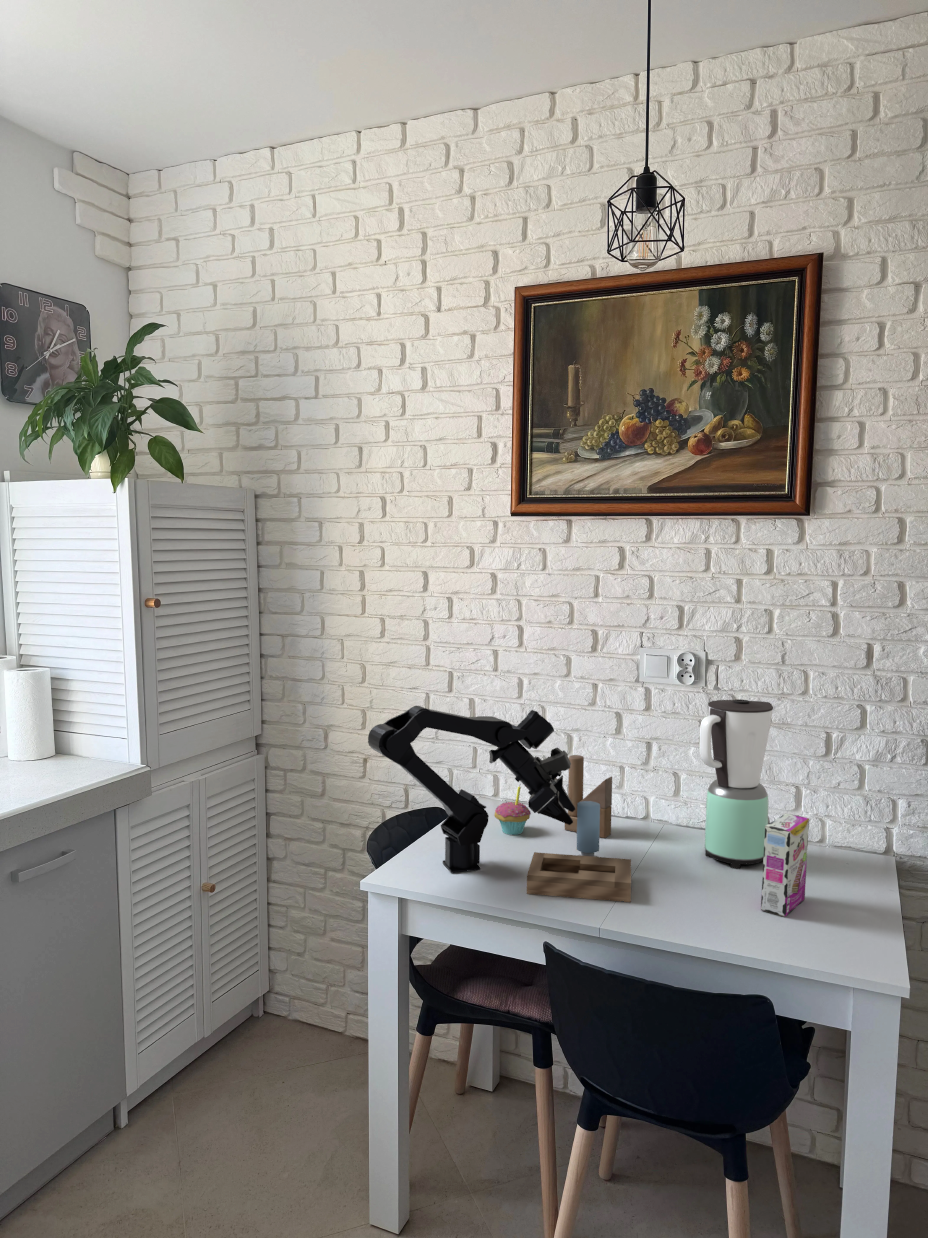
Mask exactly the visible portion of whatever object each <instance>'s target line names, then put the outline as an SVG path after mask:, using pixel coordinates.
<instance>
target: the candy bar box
mask: <svg viewBox="0 0 928 1238" xmlns="http://www.w3.org/2000/svg"><path fill="white" fill-rule="evenodd" d="M809 825H810V818H809V817H804V816H800V815H797V814H796V815H795V814H789V813H784V814H782V815H781V816H779V817H778V818H776V819H774V820H773V821H770V823H769V824H768V825H766V826H765V838H764V857H763V863H762V864H763V865H762V866H763V867H762V880H761V882H762V883H761V897H760V898H761V901H760V902H761V903H760V911H763V912H766V913H769V914H772V915H776V916H779V917H785V918H786V917H787V916H788V915H789V914H790V913H791V912H792V911H793V910H794V909H796V908H797V907H798V906H799V904H801V903H802V902H804V900H805V899H806V898H805V897H806V884H807V883H806V882H807V879H806V878H807V877H806V876H807V864H808V862H807V860H808V859H807V858H808V849H809V848H808V847H809V846H808V844H809V827H810V826H809Z"/></svg>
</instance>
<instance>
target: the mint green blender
mask: <svg viewBox="0 0 928 1238" xmlns="http://www.w3.org/2000/svg"><path fill="white" fill-rule="evenodd" d="M707 705H708V715H707V716H704V717H703V719H702V720H701V721H700V722H701V723H700V726H699V743H698V744H699V747H698V748H699V757H700V759H701V761H702V762H703V764H704V765H706V767H709V768H712V769H713V768H714V769H715V775H716V779H714V780H713V781H711V783H710V785H709V787H708V788H707V792H706V798H705V799H706V801H705V802H706V803H705V805H706V806H705V828H704V831H705V832H704V849H705V850H704V852H705V854H704V856H705V857H707V858H710V859H711V858H713V859H714V860H717V861H720V862H722V863H723V862H724V863H727V864H730V868H732V869H736V870H737V869H740V868H741V865H753V864H760V863H761V864H763V857H764V838H765V826H766V825H768V824H769V823H771V820H770V817H769V794H768V792H767V789H766V788H765V787H764V785H763V784H762V783H760V781H761V777H762V776H761V775H762V771H763V766H764V765H763V764H764V760H765V755H766V750H767V745H768V739H769V733H770V729H771V725H772V719H773V718H772V717H773V710H774V706H773V705H772V703H771V702H769V701H758V700H747V699H739V698H737V699H718V700H712V701H709V702H707ZM712 754H713V757H712Z"/></svg>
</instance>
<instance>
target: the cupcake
mask: <svg viewBox="0 0 928 1238" xmlns="http://www.w3.org/2000/svg"><path fill="white" fill-rule="evenodd" d="M520 796H521V783H520V784H519V786H517V790H516V796H515V797H516V798H515V801H508V802H507V801H506V802H502V803H500V804H499V805H497V806H496V808H495V810H494V817H495V819H497V820H498V821H499V824H500V826H501V829H502V833H504V834H506V835H510V836H512V835H513V836H515V835H516V836H517V835H521V834H522V833H523V832H524V828H525V826H526V823H527V821H528V820H530V816H531V815H532V812H531V809H530V808H529V807H527V806H526V805H525V804H523V803H521V802H520V801H519V800H520Z"/></svg>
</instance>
